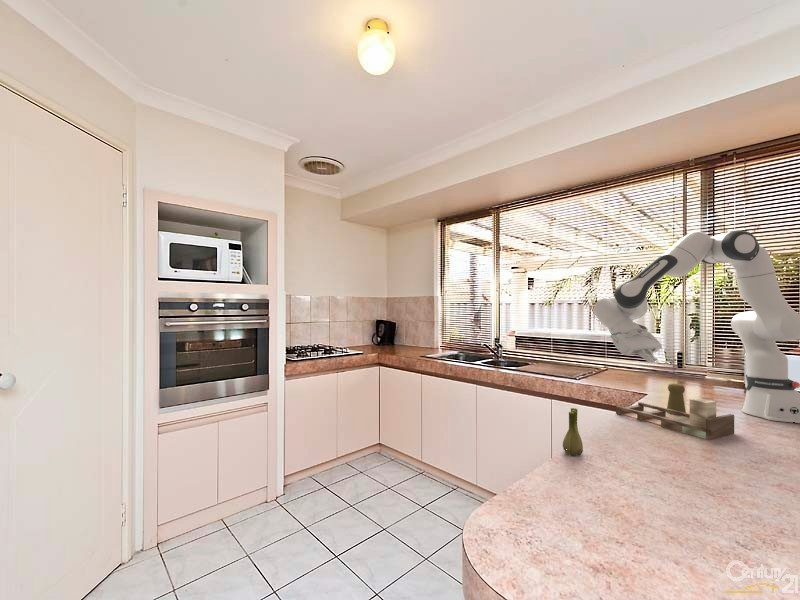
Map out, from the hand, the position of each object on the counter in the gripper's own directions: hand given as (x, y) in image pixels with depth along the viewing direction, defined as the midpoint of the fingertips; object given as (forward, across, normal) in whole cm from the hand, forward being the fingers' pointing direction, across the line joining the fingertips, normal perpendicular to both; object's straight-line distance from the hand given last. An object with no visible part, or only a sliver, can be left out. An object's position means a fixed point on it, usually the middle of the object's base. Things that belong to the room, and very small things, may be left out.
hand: (653, 361), depth 136 cm
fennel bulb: (+22, -55, +6) cm, 59 cm away
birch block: (+24, 0, +2) cm, 24 cm away
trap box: (+18, 0, +10) cm, 21 cm away
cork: (+14, +16, +16) cm, 26 cm away
